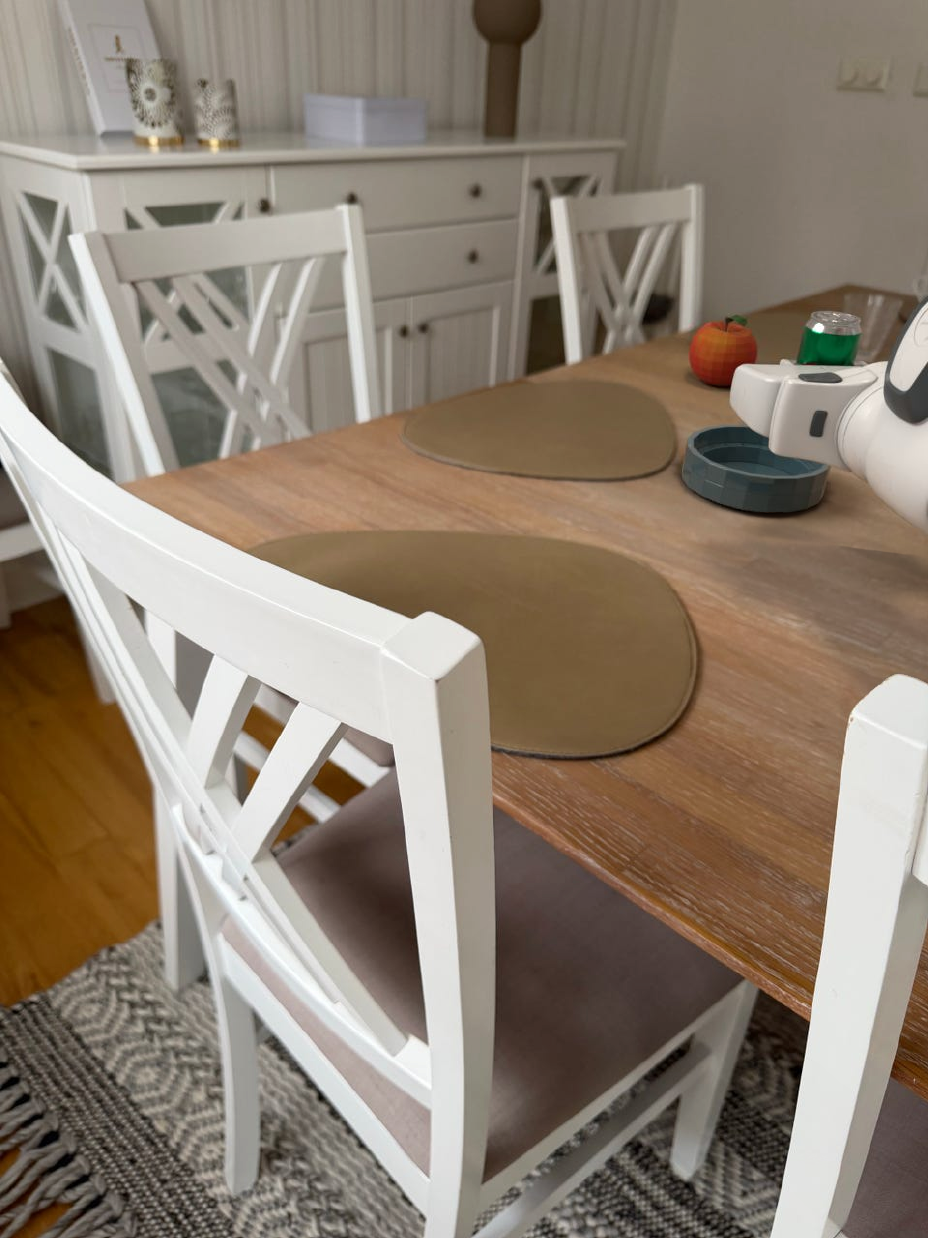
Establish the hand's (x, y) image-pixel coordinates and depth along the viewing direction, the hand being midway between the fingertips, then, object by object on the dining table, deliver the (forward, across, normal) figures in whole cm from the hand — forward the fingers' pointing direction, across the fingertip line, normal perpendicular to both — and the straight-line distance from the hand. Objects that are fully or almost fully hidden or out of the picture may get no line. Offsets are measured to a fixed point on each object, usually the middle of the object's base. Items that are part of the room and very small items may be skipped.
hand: (818, 368), depth 89 cm
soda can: (-1, 0, +7) cm, 7 cm away
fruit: (+48, -7, +17) cm, 51 cm away
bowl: (+10, 0, +17) cm, 20 cm away
